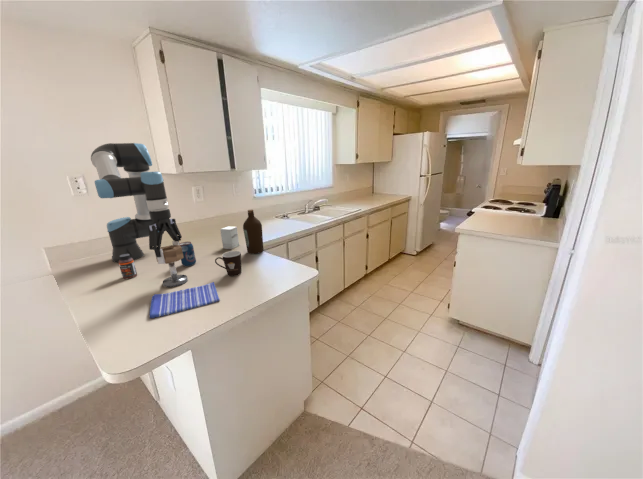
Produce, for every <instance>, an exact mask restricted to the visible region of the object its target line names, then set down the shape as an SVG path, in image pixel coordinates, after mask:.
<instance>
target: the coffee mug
mask: <svg viewBox="0 0 643 479" xmlns="http://www.w3.org/2000/svg"><path fill="white" fill-rule="evenodd" d="M218 259H220V260H222V261H223V263H224V266H223V265H221V264H220V263H218V262H217V260H218ZM214 261H215V264H216V265H217V266H219V267H220V268H222V269H225V270H226V273H227V274H226V275H227V276H228V277H237V276H239V275H241V274H242V252H241V251H240V250H230V251H226V252H223V253H222V254H221V257H220V256H218V257H216V258H215V259H214Z"/></svg>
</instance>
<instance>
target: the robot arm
mask: <svg viewBox="0 0 643 479" xmlns="http://www.w3.org/2000/svg"><path fill="white" fill-rule="evenodd" d="M90 161H91V163H92V165H93V166H94V168H96V172H97V175H98V179H96V180H94V185H95V189H96V192H97V193H96V194H97V196H98V198H100V199H116V198H122V197H123V198H124V197H125V198H126V197H131V196H132V197H133V200H134V204H135V208H136V214H135V215H134V218H131V217H129V216H126V217H119V218H116V219H113V220H110V221H108V222H107V223H106V230H107V231H106V232H107V233H108V236H109V240H110V243H111V246H112V256H111V260H112V262H114V263H118V262H119V260H120V257H119V256H120V255H123V254H129V255H130V257H131V258H133V260H134V261H135V260H138V259H139V258H140V259H141V257H143V256H144V251H143V250H142V249H141V246H140V245H139V244H138V243H137V239H141V238H142V239H143V238H147V237H148V241H149V242H148V243H149V244H148V246H149V248H148V249H149V250H151V251H154V254H155V257H157V259H158V262H157V264H158V265H165V259H164V255H163V250H162V249H160V248H161V247H162V241H163V235H164V233H165V232H166V233H167V234H168V235H169V237H170V238H171V239H172V241H171V243H172V245H180V243H181V242H180V241H182V234H181V232H180V229H179V227H178V225H177V221H176V218H171V217H172V216H171V211H170V209H169V206H170V205H169V202H168V198H167V192H166V188H165V183H164V178H163V175H162V174H163V173H162V172H160V171H150V170H151V169H150V167H152V166H153V162H152V158H151V155H150V153H149V150H148V147H147V146H146V145H145V144H144V143H137V142H130V143H129V142H126V143H125V142H124V143H123V142H122V143H117V142H116V143H114V142H112V143H105V144H101V145H99V146H98V147H96V148H95V149H94V150H93V151H91V154H90ZM118 168H123V171H124V172H126V173H127V174H128V177H122V176H121V172H120V171H119V169H118ZM157 259H156V260H157Z"/></svg>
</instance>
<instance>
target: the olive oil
mask: <svg viewBox="0 0 643 479" xmlns="http://www.w3.org/2000/svg"><path fill="white" fill-rule="evenodd" d="M242 230H243V235H244V240H245V244H246V252H247V254H250V255H257V254H261V253H263V252H264V239H263V225H262V222H261V221H260V220H259V219H258V218H257V217H256V216H255V212H254V209H248V210H247V218H246V219H245V221H244V222H243V225H242Z"/></svg>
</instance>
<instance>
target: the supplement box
mask: <svg viewBox="0 0 643 479" xmlns="http://www.w3.org/2000/svg"><path fill="white" fill-rule="evenodd" d="M219 230H220V238H221V243H222V248H223V249H227V250H234V249H236V248H237V247H238V246H240V242H239V233H238V227H237V226H226V227H222V228H220V229H219Z"/></svg>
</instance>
